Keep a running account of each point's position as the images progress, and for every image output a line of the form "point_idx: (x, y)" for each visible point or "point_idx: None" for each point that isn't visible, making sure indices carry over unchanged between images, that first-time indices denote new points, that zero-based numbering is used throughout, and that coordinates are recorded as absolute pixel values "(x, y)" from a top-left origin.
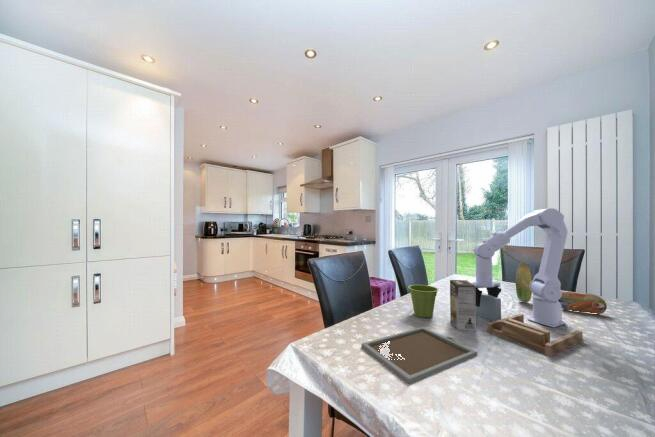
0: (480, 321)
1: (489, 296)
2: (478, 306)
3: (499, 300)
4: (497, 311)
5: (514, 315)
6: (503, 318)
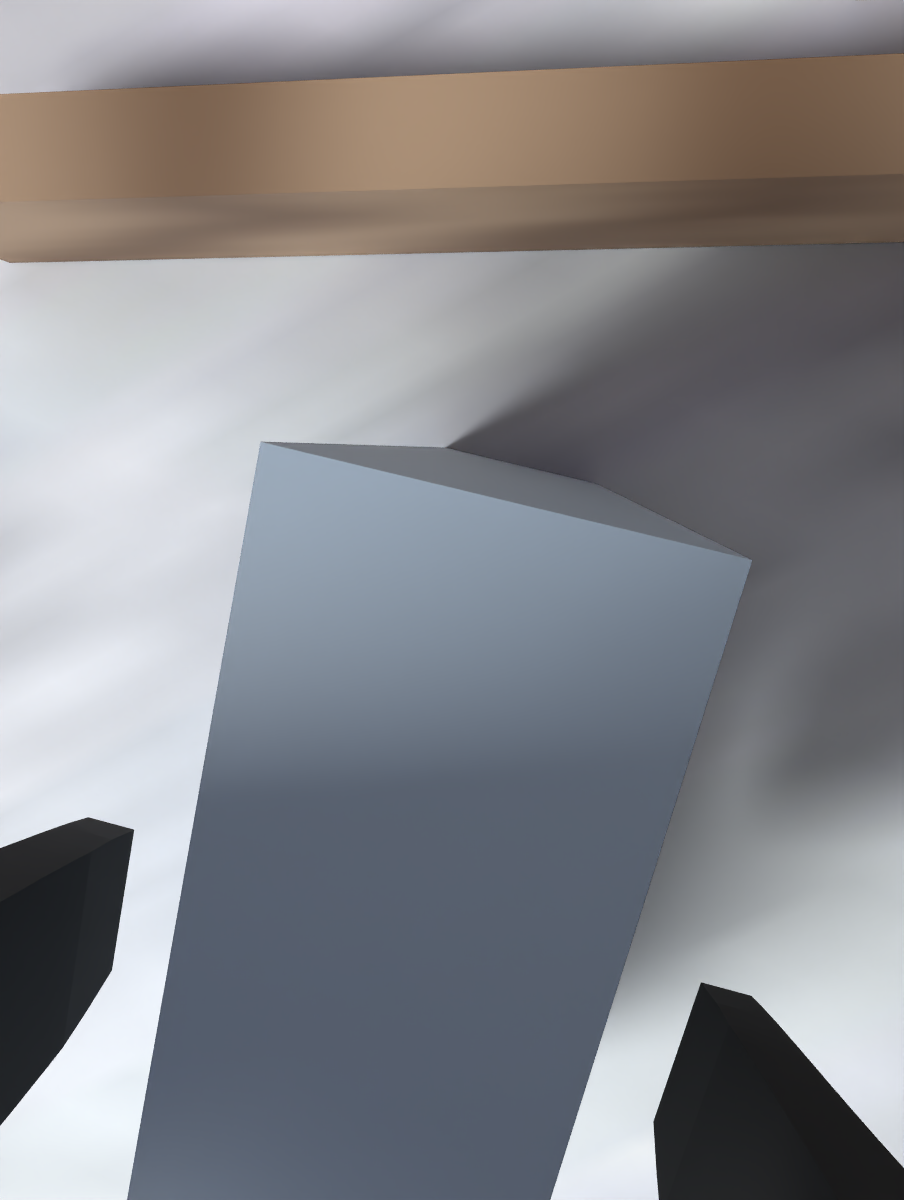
0: (873, 680)
1: (432, 1091)
2: (749, 1001)
3: (397, 472)
4: (557, 482)
5: (175, 180)
6: (779, 177)
